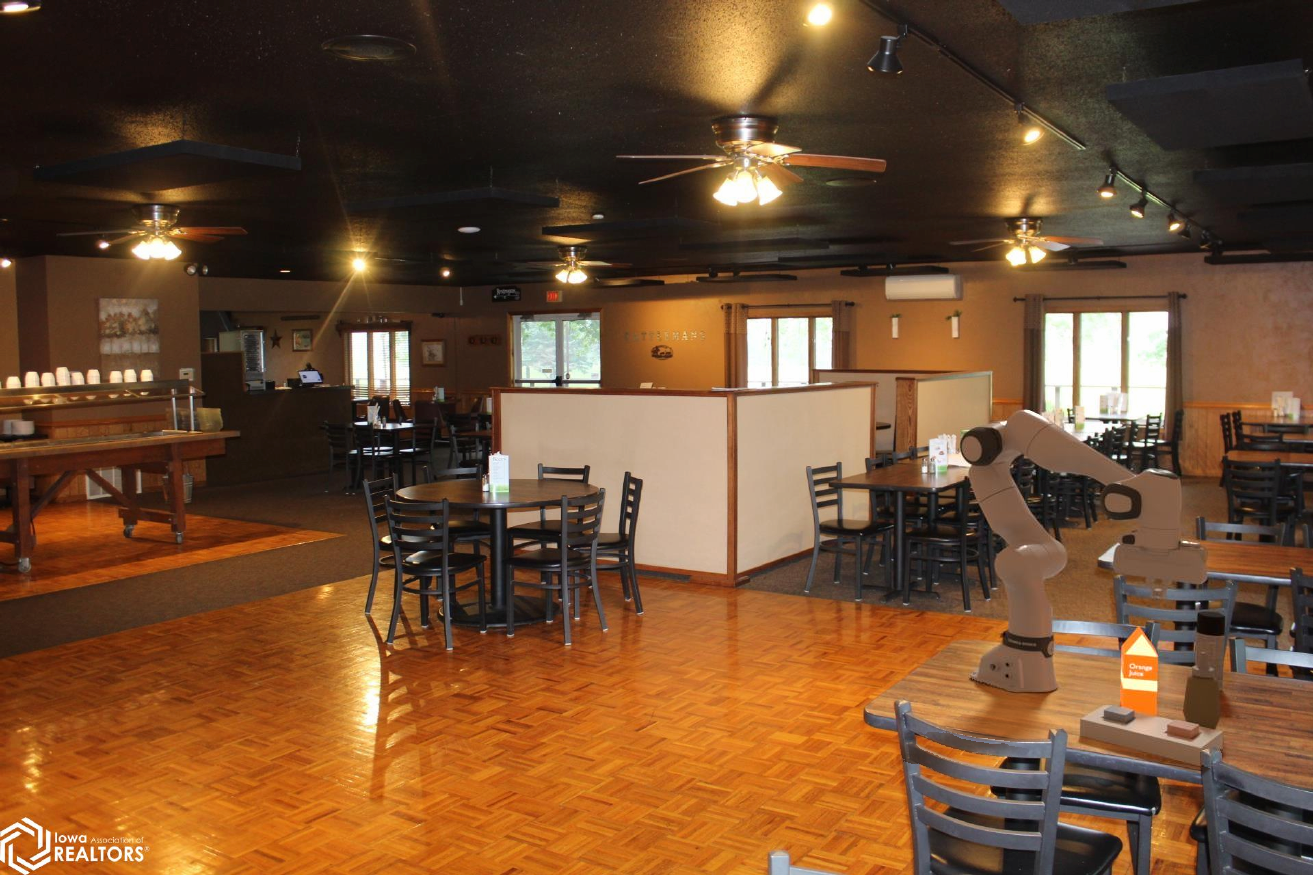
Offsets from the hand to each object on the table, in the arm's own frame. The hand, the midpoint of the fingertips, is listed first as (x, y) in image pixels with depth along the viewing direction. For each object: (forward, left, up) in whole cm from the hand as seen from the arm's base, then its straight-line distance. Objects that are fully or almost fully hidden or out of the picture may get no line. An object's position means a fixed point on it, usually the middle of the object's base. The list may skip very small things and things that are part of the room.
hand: (1158, 597), depth 244 cm
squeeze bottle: (+8, +7, -31) cm, 33 cm away
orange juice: (-8, +11, -31) cm, 34 cm away
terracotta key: (+10, -11, -29) cm, 33 cm away
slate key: (-4, -11, -29) cm, 32 cm away
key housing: (+3, -11, -31) cm, 33 cm away
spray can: (-1, +40, -31) cm, 51 cm away
